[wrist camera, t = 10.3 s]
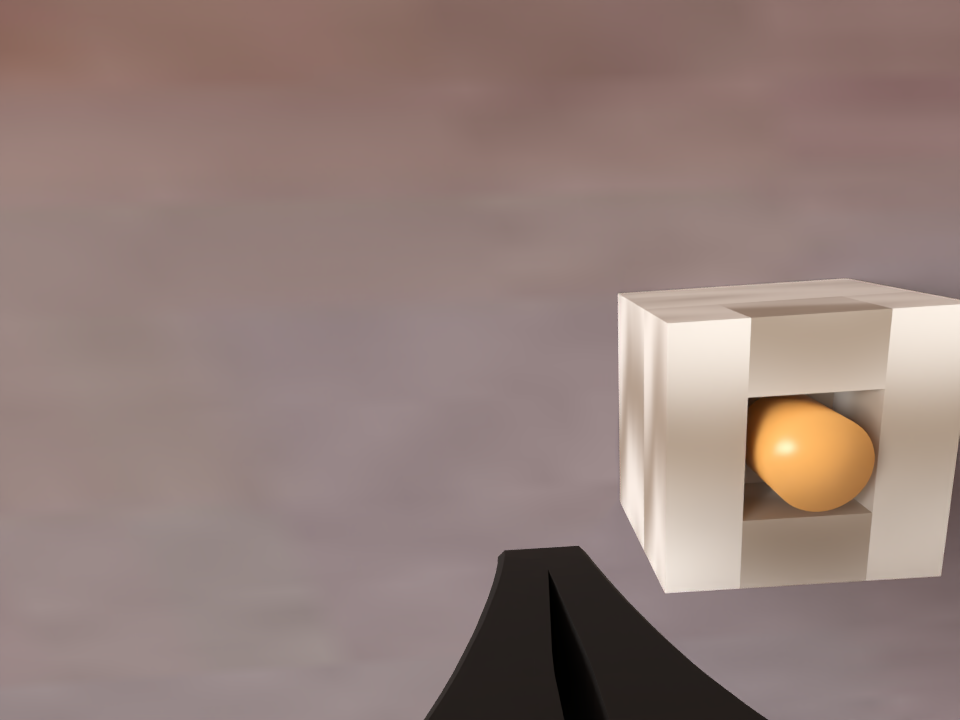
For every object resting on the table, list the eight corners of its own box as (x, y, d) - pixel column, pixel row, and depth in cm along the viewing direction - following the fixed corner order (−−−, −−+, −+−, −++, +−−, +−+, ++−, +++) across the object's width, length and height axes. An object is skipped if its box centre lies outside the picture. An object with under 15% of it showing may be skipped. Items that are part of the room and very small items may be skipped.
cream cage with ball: (838, 487, 20) (952, 575, 16) (619, 501, 20) (665, 593, 16) (856, 277, 19) (990, 302, 14) (618, 293, 19) (667, 323, 14)
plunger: (823, 473, 16) (869, 508, 15) (734, 478, 16) (768, 515, 15) (829, 387, 16) (879, 412, 14) (737, 393, 16) (773, 420, 14)
